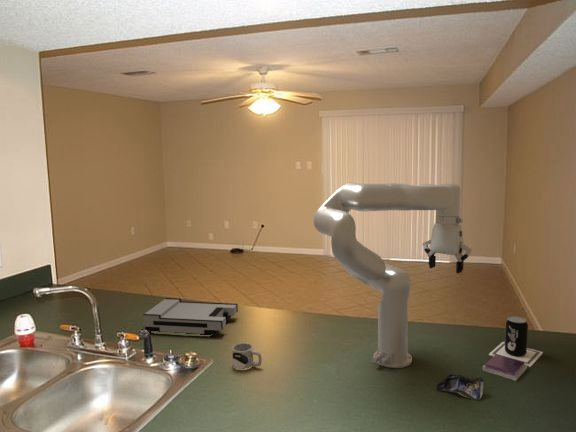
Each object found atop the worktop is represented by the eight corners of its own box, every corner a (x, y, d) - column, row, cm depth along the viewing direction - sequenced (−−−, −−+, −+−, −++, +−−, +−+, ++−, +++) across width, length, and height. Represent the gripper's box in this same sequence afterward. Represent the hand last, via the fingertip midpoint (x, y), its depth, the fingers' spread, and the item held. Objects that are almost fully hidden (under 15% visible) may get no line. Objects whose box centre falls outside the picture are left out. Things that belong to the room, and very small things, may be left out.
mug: (229, 369, 151) (228, 350, 150) (238, 360, 157) (237, 341, 156) (257, 373, 147) (257, 354, 146) (265, 364, 153) (265, 345, 152)
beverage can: (528, 358, 152) (530, 323, 150) (507, 356, 153) (509, 322, 152) (522, 349, 158) (524, 315, 157) (502, 348, 160) (503, 315, 158)
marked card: (530, 367, 147) (530, 365, 147) (488, 355, 156) (488, 353, 156) (542, 353, 156) (543, 351, 156) (502, 342, 165) (502, 341, 165)
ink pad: (516, 380, 139) (516, 374, 138) (482, 370, 146) (482, 364, 145) (526, 368, 146) (527, 362, 146) (494, 359, 153) (494, 353, 152)
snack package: (453, 407, 127) (490, 399, 129) (451, 383, 127) (488, 376, 129) (430, 392, 138) (464, 385, 141) (428, 370, 138) (462, 364, 141)
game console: (221, 339, 175) (220, 319, 174) (143, 335, 181) (142, 315, 180) (238, 319, 195) (237, 300, 194) (167, 316, 201) (166, 298, 200)
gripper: (477, 221, 153) (475, 272, 155) (429, 217, 165) (427, 263, 167) (467, 224, 147) (465, 276, 150) (418, 219, 159) (417, 267, 162)
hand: (445, 270), depth 159 cm, fingers open, 9 cm apart
